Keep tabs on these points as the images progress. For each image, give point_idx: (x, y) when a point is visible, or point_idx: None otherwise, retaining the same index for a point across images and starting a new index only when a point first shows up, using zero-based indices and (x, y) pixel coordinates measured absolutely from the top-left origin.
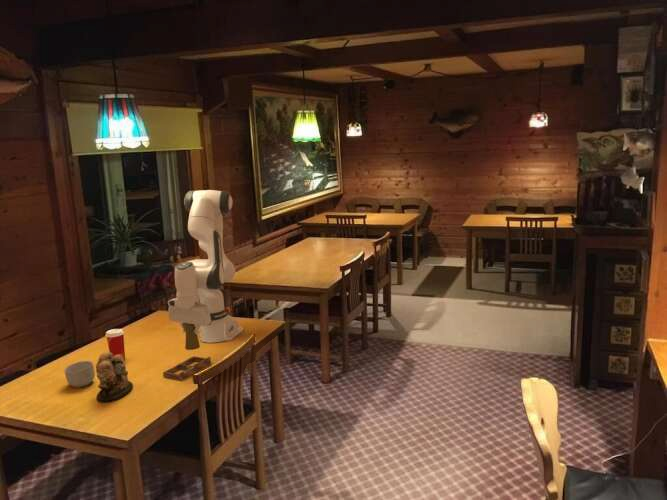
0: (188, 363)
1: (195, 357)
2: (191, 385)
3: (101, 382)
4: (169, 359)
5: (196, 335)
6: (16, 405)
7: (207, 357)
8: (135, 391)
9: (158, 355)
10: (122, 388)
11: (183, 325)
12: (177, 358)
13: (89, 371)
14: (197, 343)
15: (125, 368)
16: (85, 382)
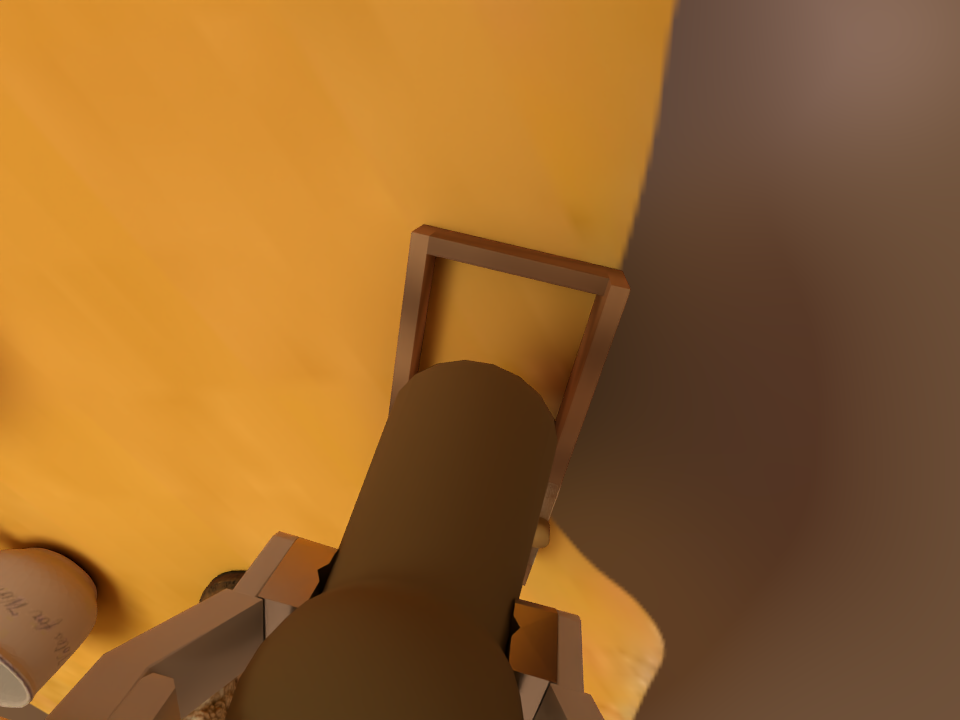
0: (425, 314)
1: (449, 258)
2: (626, 593)
3: None
4: (207, 234)
5: (526, 566)
6: (41, 694)
7: (604, 306)
8: None
9: (54, 164)
10: None
11: (188, 695)
12: (253, 203)
13: (46, 659)
14: (545, 491)
15: (214, 696)
16: (93, 626)
